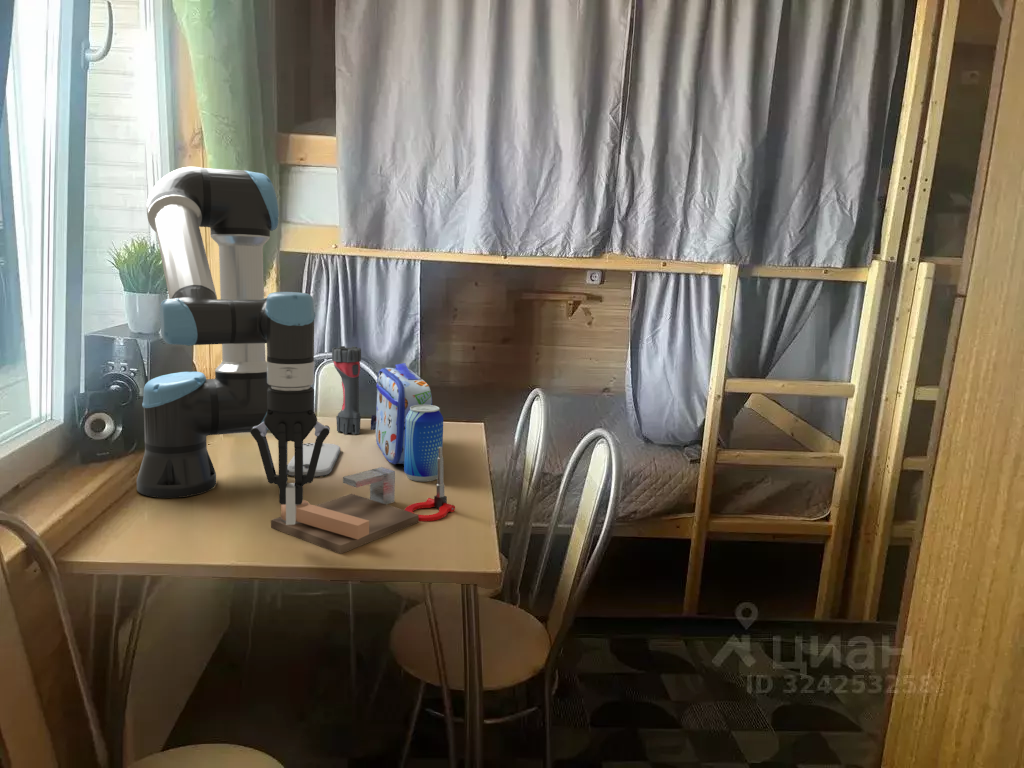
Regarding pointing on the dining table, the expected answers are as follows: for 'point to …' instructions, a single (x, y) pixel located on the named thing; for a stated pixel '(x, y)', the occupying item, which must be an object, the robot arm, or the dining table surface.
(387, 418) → the lunch box
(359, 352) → the flashlight
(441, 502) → the tow hook
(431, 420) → the beer can
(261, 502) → the dining table surface
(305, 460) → the handheld gaming console
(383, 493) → the keeper
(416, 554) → the dining table surface
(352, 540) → the pintle plate
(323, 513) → the link
